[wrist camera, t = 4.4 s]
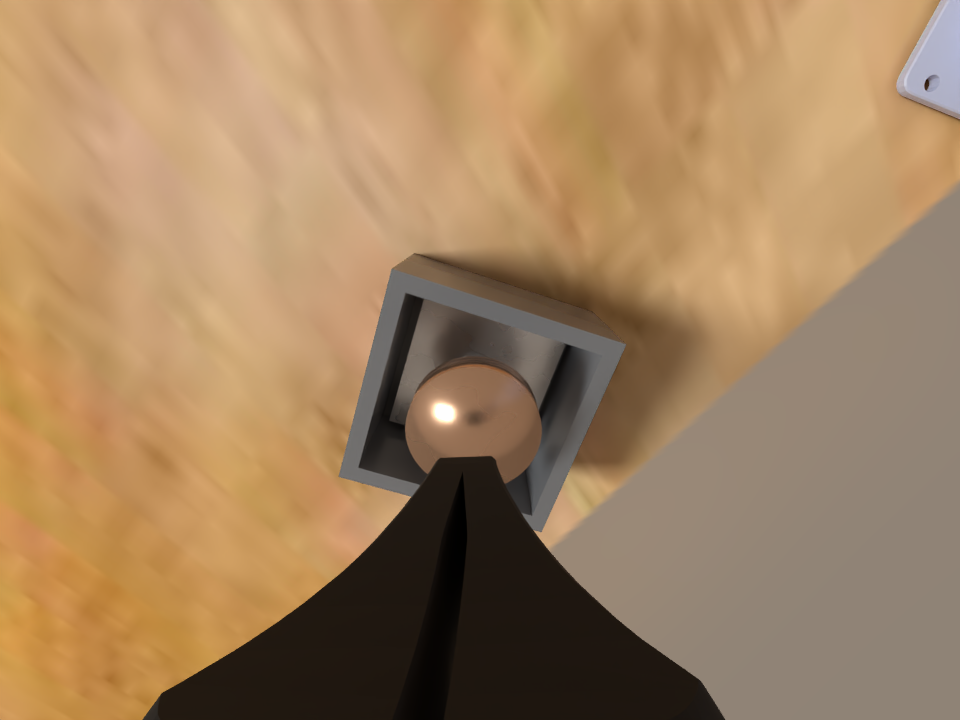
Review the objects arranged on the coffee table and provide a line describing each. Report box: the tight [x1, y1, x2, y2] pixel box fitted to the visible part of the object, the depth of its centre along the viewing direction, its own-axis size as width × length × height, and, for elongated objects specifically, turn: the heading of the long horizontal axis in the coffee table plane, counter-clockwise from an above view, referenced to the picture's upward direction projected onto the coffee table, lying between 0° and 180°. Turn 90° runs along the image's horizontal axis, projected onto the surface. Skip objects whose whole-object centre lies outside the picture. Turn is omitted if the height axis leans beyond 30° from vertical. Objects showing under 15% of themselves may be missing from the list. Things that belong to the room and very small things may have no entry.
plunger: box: [389, 299, 565, 484], centre depth 17 cm, size 6×6×5 cm
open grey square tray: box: [339, 253, 626, 532], centre depth 18 cm, size 8×8×5 cm
